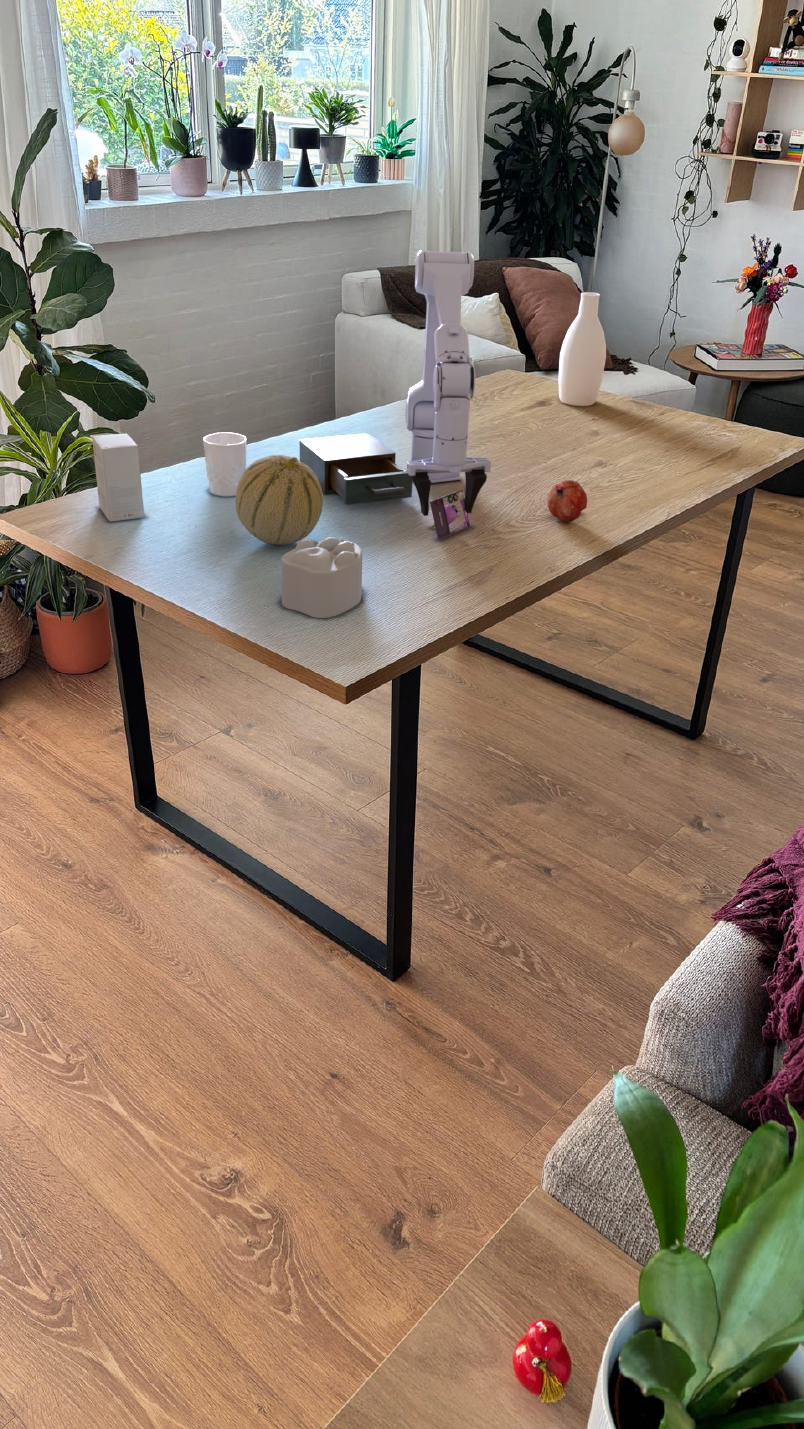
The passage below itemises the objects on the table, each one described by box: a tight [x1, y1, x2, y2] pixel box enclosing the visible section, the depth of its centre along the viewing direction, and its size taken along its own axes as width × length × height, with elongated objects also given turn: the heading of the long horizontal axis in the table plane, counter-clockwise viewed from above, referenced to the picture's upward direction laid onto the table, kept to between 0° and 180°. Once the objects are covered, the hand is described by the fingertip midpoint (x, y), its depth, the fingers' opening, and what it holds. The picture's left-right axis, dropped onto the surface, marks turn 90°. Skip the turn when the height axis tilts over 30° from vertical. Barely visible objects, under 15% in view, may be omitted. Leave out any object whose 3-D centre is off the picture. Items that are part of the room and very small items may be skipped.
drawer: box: [328, 458, 413, 506], centre depth 203 cm, size 17×13×5 cm
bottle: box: [558, 291, 607, 407], centre depth 264 cm, size 11×11×25 cm
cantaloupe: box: [234, 454, 324, 546], centre depth 181 cm, size 15×15×15 cm
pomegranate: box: [546, 479, 588, 523], centre depth 198 cm, size 7×7×10 cm
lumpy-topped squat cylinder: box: [280, 536, 363, 619], centre depth 164 cm, size 10×13×9 cm
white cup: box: [202, 432, 247, 497], centre depth 203 cm, size 8×8×10 cm
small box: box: [91, 433, 145, 522], centre depth 191 cm, size 8×6×13 cm
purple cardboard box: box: [429, 489, 471, 540], centre depth 191 cm, size 7×5×9 cm
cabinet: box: [298, 432, 397, 495], centre depth 212 cm, size 14×15×7 cm
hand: (446, 512), depth 191 cm, fingers open, 7 cm apart
